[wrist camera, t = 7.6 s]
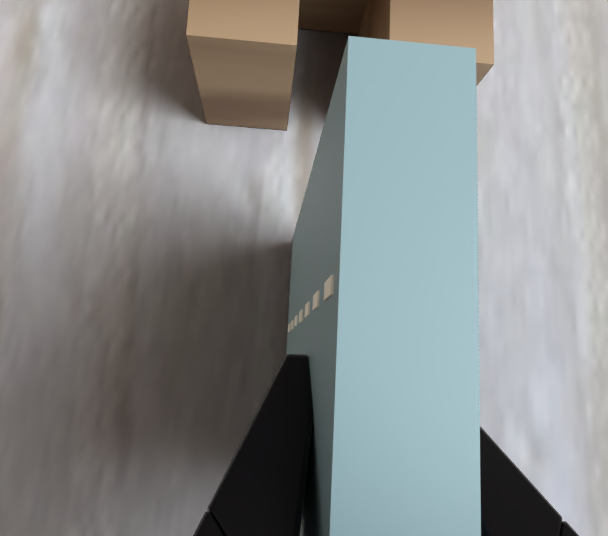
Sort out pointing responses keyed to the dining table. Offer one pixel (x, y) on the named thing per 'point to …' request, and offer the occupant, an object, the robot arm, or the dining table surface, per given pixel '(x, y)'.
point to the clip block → (283, 43)
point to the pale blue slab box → (392, 297)
